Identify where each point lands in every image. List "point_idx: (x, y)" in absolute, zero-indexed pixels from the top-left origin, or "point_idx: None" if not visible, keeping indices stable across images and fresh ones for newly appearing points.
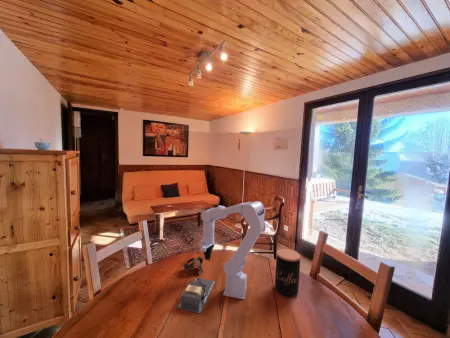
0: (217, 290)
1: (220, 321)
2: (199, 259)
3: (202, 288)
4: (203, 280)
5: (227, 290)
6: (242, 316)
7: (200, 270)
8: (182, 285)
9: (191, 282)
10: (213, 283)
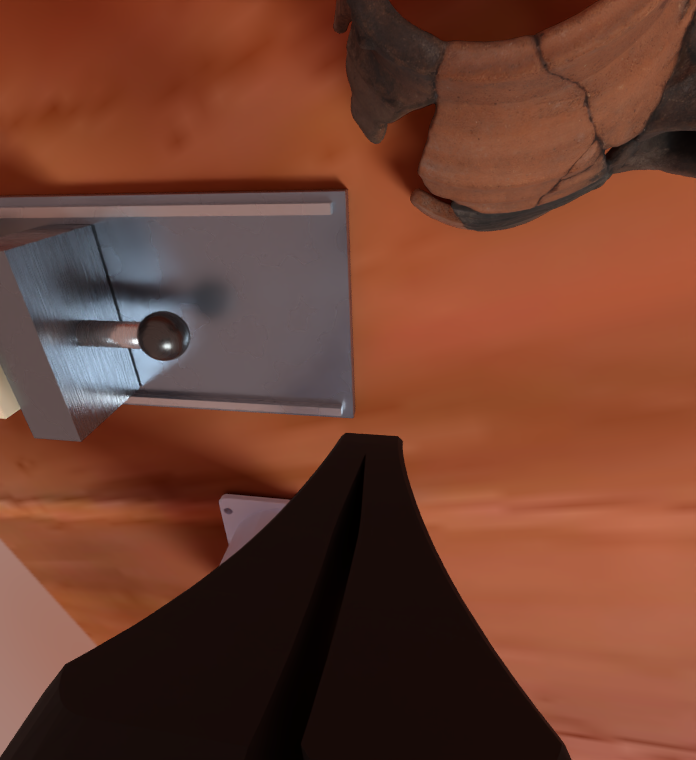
0: (257, 446)
1: (27, 499)
2: (688, 129)
3: (27, 413)
4: (322, 302)
5: (233, 538)
6: (125, 584)
7: (452, 222)
8: (155, 62)
9: (9, 272)
10: (313, 410)
